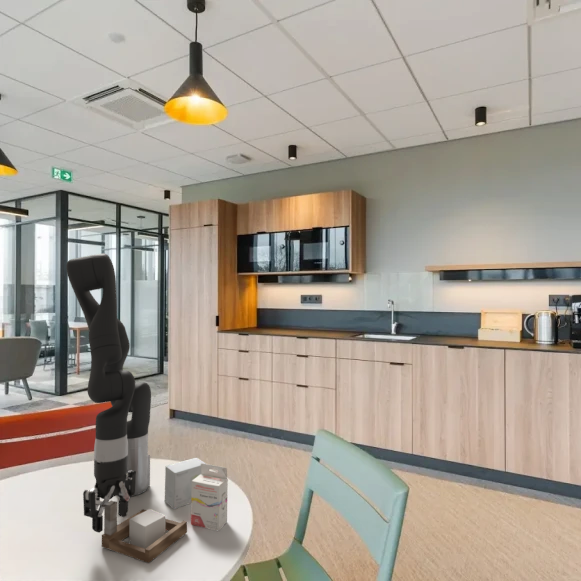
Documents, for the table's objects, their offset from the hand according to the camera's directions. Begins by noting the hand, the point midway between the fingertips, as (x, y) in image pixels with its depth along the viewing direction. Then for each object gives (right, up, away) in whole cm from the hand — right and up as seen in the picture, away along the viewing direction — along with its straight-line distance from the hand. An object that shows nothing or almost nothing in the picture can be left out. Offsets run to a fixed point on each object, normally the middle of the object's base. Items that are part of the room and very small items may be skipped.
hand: (110, 523), depth 102 cm
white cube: (+8, -6, +2) cm, 10 cm away
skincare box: (+12, -6, +23) cm, 27 cm away
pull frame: (+8, -5, +2) cm, 10 cm away
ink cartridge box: (+22, -6, +10) cm, 25 cm away
